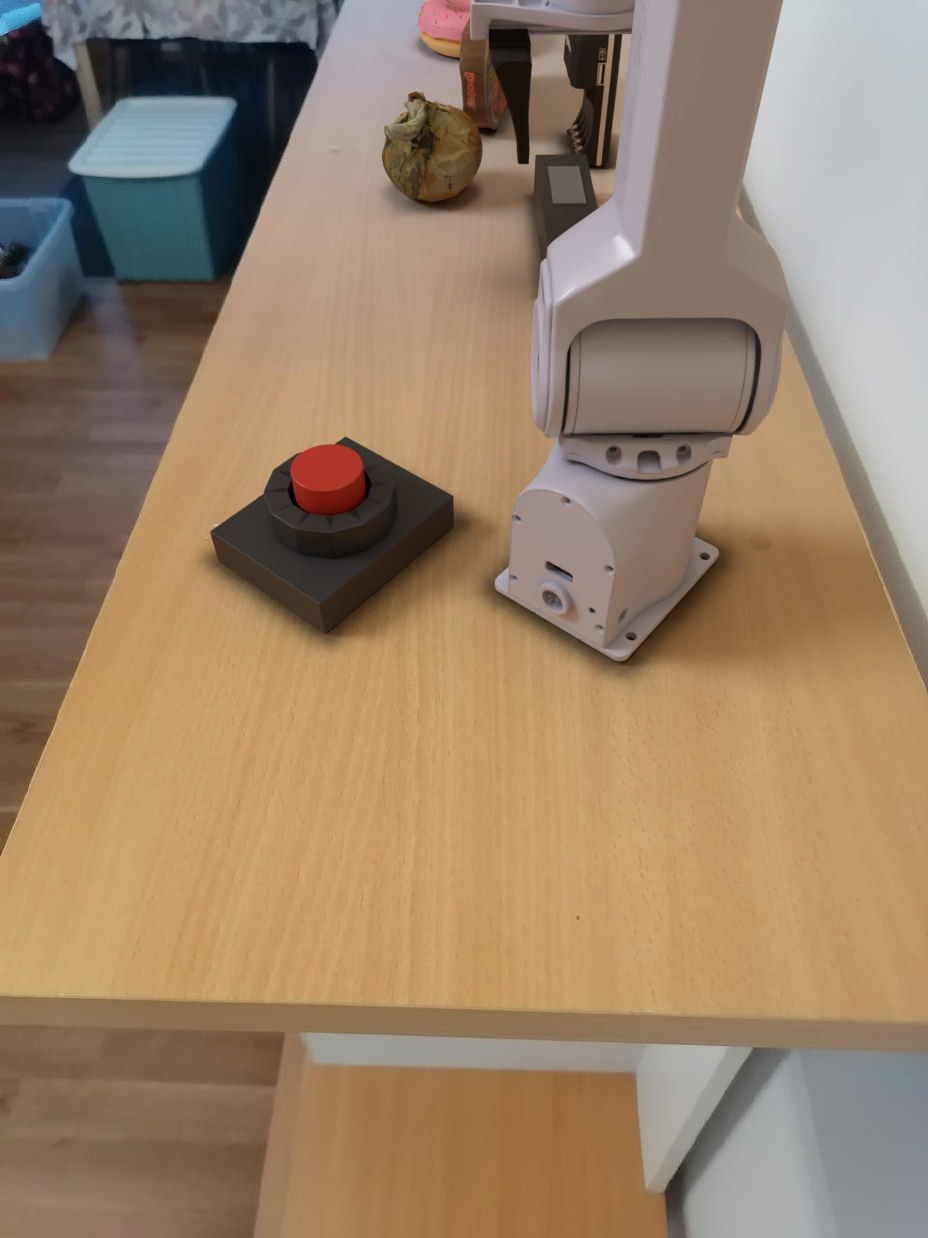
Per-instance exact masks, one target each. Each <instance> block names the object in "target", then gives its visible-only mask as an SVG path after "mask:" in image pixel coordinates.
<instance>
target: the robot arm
mask: <svg viewBox="0 0 928 1238" xmlns="http://www.w3.org/2000/svg"><path fill="white" fill-rule="evenodd" d="M783 4H784V0H470V36H471V40H487V39H489V54H490V60H491V63H492V66H493V69H494V72H495V74H496V76H497V78H498V81H499V83H500V85H501V88H502V91H503V93H504V96H505V99H506V102H507V105H506V106H507V107H508V111H509V114H510V115H509V116H510V119H511V122H512V126H513V131H514V135H515V142H516V158H517V164H518V165H529V164H530V152H531V151H530V150H531V149H530V147H531V146H530V120H529V119H530V101H531V100H530V98H531V83H532V71H533V60H532V54H531V53H532V42H531V36H566V35H588V34H622V35H630V43H629V44H630V45H629V51H628V52H629V53H628V60H627V69H626V78H625V86H624V95H623V103H622V112H621V120H620V127H619V137H618V144H617V145H618V146H617V154H616V163H615V170H614V179H613V187H612V195H611V196H610V198H608V199H607V201H605V202H604V203H603V204H602V205H601V206H599V207H598V209H597V210H595V211H594V212H592V213H591V214H590V215H588V216H587V217H585V218H584V219H583V220H581V221H580V222H578V223H577V224H575V225H574V226H573V227H571V228H570V229H568V230H567V231H566V232H564V233H563V234H562V235H560V236H559V237H558V238H556V239H555V240H554V241H553V242H552V243H551V244H550V245H549V246H548V247H547V258H545V259H544V260H543V261H542V262H541V261H540V266H539V281H538V290H537V291H538V292H537V297H536V298H535V300H534V303H533V309H532V318H531V319H532V320H531V336H530V337H531V338H530V400H531V401H530V402H531V414H532V420H533V421H532V422H533V424H534V425H535V426H536V427H537V428H538V429H539V430H540V431H542V435H543V436H544V437H545V438H547V439H549V438H550V439H551V438H555V439H554V442H553V445H552V447H551V450H550V452H549V454H548V456H547V460H546V462H545V463H544V464H543V465H542V467H541V469H540V470H539V472H538V473H537V474H536V476H535V477H534V478H533V479H532V480H531V481H530V483H529V484H528V485H527V486H526V487H525V488H524V489H522V491H520V493H519V494H518V496H517V497H516V498H515V500H514V503H513V505H512V508H511V513H510V514H511V515H510V535H509V536H510V537H509V556H508V557H509V559H508V560H509V562H508V566H507V567H506V568H505V569H504V570H503V571H502V572H500V574H499V575H497V577H496V578H495V579H494V588H495V590H496V591H497V592H499V593H500V594H501V595H503V596H505V597H507V598H508V599H510V600H512V601H513V602H515V603H517V604H518V605H520V606H522V607H523V608H526V609H527V610H529V611H530V612H532V613H534V614H535V615H537V616H538V617H540V618H542V619H544V620H546V622H549V623H551V624H553V625H554V626H555V627H558V628H559V629H561V630H563V631H564V632H566V633H568V634H569V635H571V636H572V637H574V638H576V639H578V640H579V641H581V642H582V643H585V644H586V645H588V646H590V647H591V648H593V649H595V650H596V651H598V652H599V653H601V654H602V655H605V656H606V657H608V658H610V659H611V660H613V661H616V662H623V661H626V660H628V659H629V658H630V656H631V655H632V654H633V653H634V652H635V651H636V650H637V649H638V648H639V647H640V646H641V644H642V643H644V642H645V640H646V639H647V638H648V636H649V635H650V634H651V633H652V632H653V631H654V630H655V629H656V628H657V627H658V626H659V624H660V623H661V622H662V621H663V620H664V619H665V618H666V617H667V616H668V614H669V613H670V612H671V611H672V610H673V609H674V608H675V607H676V606H677V605H678V604H679V603H680V601H681V600H682V599H683V598H684V597H685V596H686V595H687V594H688V593H689V591H690V590H691V589H692V588H693V587H694V586H695V585H696V584H697V582H699V580H700V579H701V578H702V577H703V576H704V575H705V574H706V572H708V570H709V569H710V568H711V567H712V566H713V565H714V564H715V563H716V561H717V560H718V559H719V555H720V551H719V548H717V547H716V546H715V545H712V544H711V543H709V542H706V541H705V540H702V539H701V538H699V537H696V532H697V529H698V524H699V519H700V516H701V511H702V508H703V503H704V500H705V495H706V492H707V487H708V483H709V479H710V476H711V471H712V467H713V463H714V460H717V459H726V458H728V456H729V453H730V448H731V445H732V441H733V437H734V435H735V436H742V437H743V436H744V437H746V436H750V435H752V434H753V433H754V432H755V431H756V430H757V429H758V427H759V426H760V425H761V423H763V421H764V420H765V419H766V418H767V416H768V415H769V414H770V412H771V410H772V407H773V405H774V402H775V399H776V396H777V392H778V388H779V384H780V377H781V371H782V360H783V340H784V333H785V329H786V323H787V319H788V314H789V310H790V306H791V305H790V304H791V301H790V295H789V288H788V284H787V281H786V277H785V272H784V269H783V267H782V263H781V260H780V258H779V256H778V254H777V253H776V251H775V249H774V247H772V245H770V243H769V242H768V241H767V239H766V238H765V237H763V236H762V235H761V234H760V233H759V232H757V231H756V230H755V228H753V227H752V226H751V225H750V224H748V223H747V222H746V221H745V220H744V219H743V218H741V217H740V216H739V215H738V214H737V208H738V204H739V200H740V195H741V191H742V187H743V182H744V177H745V173H746V168H747V165H748V159H749V155H750V151H751V147H752V142H753V139H754V138H753V137H754V133H755V128H756V123H757V120H758V115H759V111H760V108H761V107H760V106H761V102H762V97H763V93H764V92H763V91H764V88H765V84H766V81H767V80H766V79H767V76H768V72H769V71H768V70H769V67H770V61H771V57H772V53H773V48H774V44H775V40H776V36H777V30H778V25H779V21H780V16H781V13H782V9H783ZM628 638H631V639H633V640H631V639H628Z"/></svg>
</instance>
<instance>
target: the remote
mask: <svg viewBox="0 0 928 1238" xmlns="http://www.w3.org/2000/svg"><path fill="white" fill-rule="evenodd" d="M533 176H534V178H533V207H534V216H535V223H536V231H537V241H538V248H539V256H540V257H539V258H540V263H541V262H542V261H543V260H544V259H545V258H547V247H548V246H549V245H550V244H551V243H552V242H553V241H554V240H555V239H556V238H558V237H559V236H560V235H562V234H563V233H564V232H566V231H567V230H568V229H570V228H571V227H573V226H574V225H575V224H577V223H578V222H580V221H581V220H583V219H584V218H585V217H587V216H588V215H590V214H591V213H592V212H594V211H595V210H597V209H598V208H599V207H598V203H597V198H596V192H595V188H594V185H593V179H592V175H591V169H590V165H588V160H587V156H586V154H570V153H565V154H563V153H562V154H561V153H559V154H557V153H556V154H555V153H553V154H535V156H534V175H533Z"/></svg>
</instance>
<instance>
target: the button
mask: <svg viewBox="0 0 928 1238" xmlns="http://www.w3.org/2000/svg"><path fill="white" fill-rule="evenodd" d="M301 452H302V453H300V452H299V453H300V454H299V455H298V456H297V457H296V458H295V460H294V461H293V463H292V465H291V470H290V471H291V478H292V483H293V489H294V494H295V499H296V501H297V503H298V505H299V506H300V507H301V508H302V509H303V510H305V511H306V512H308V513H310V514H315V515H324V516H333V515H337V514H341V513H345V512H349V511H351V510H353V509H354V508H356V507H357V506H358V505H359V504H360V503H361V502H362V500H363V499H364V496H365V493H366V487H365V478H364V469H363V462H362V459H361V458H360V456H359V455H358V454H357V453H356V452H355V451H354V450H352V449H350V448H348V447H345V446H341V445H335V443H334V444H333V443H331V444H330V443H327V444H320V445H315V446H312V447H309V448H307V449H305V450H304V451H301Z"/></svg>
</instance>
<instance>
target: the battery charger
mask: <svg viewBox="0 0 928 1238" xmlns="http://www.w3.org/2000/svg"><path fill="white" fill-rule="evenodd" d="M564 36H565V37H564V46H563V49H564V50H563V63H564V65H565V69H566V75H567V77H568V78H567V79H568V80H569V84H570V86H571V87H572V88H574V89H578V90H583V95H582V103H581V107H580V108H579V112H578V114H577V116H576V117H575V119H574V121H573V122H572V124H571V126H570V127H569V128H567V130H566V133H565V138H566V144H567V148H568V152H569V153H568V154H586V156H587V160H588V165H589V166H596V167H601V166H602V165H603V166H604V165H608V163H609V162H610V152H611V143H612V142H611V141H612V134H613V125H614V124H613V123H614V116H615V107H616V101H617V100H616V98H617V91H618V90H617V89H618V81H619V73H620V62H621V55H622V54H621V52H622V43H623V34H588V35H564Z"/></svg>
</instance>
